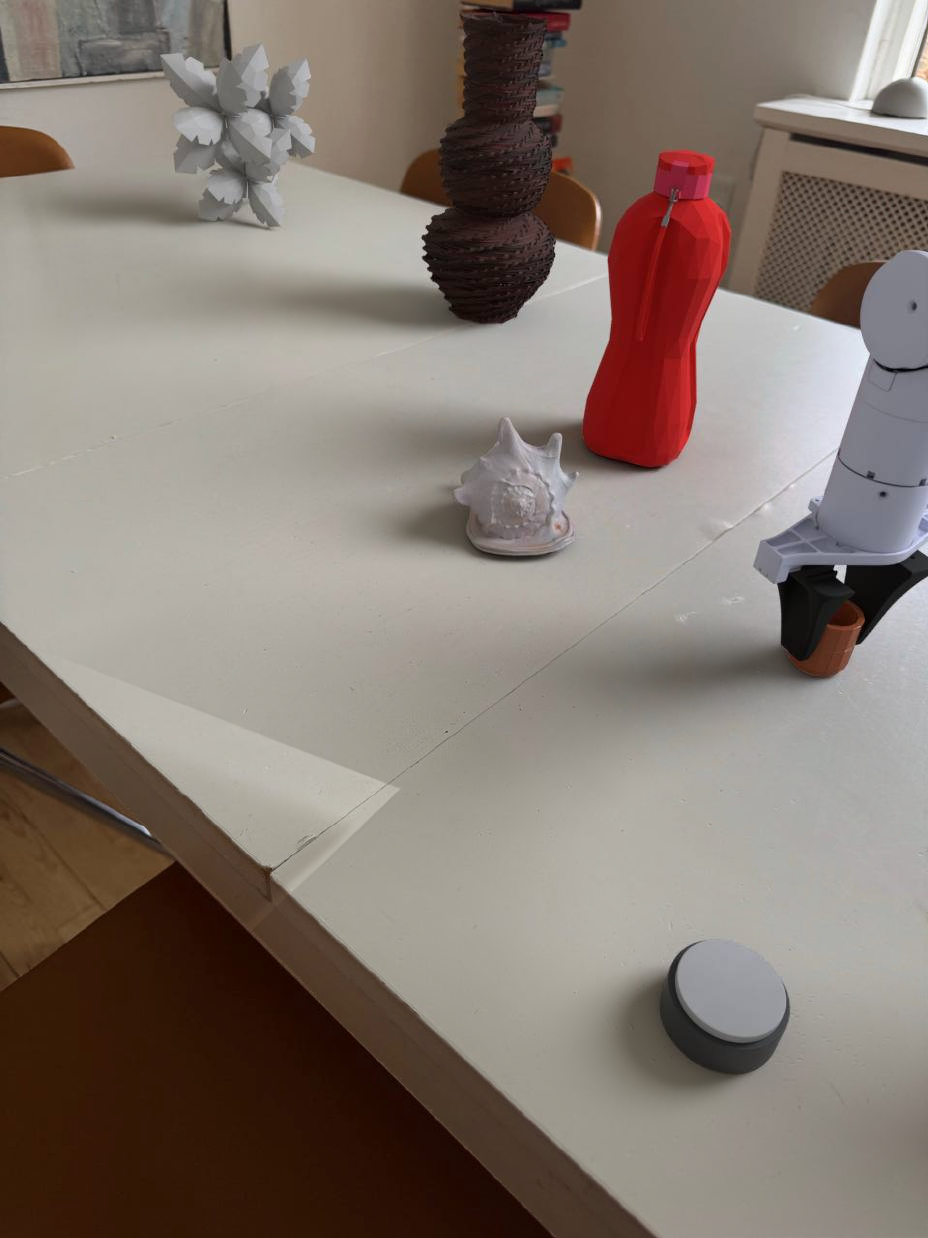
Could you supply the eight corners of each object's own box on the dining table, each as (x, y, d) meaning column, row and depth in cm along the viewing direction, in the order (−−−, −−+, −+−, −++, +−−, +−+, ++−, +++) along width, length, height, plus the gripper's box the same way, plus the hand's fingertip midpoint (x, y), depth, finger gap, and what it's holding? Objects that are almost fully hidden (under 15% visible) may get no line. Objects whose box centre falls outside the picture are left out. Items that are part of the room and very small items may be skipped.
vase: (561, 335, 110) (599, 30, 92) (428, 335, 108) (440, 21, 90) (533, 289, 122) (562, 11, 104) (412, 289, 120) (420, 3, 102)
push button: (795, 1006, 45) (810, 975, 43) (752, 1099, 41) (766, 1069, 40) (689, 944, 47) (700, 913, 46) (639, 1027, 44) (649, 996, 42)
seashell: (461, 567, 72) (469, 454, 66) (428, 487, 81) (433, 382, 75) (590, 556, 74) (608, 446, 68) (543, 479, 83) (556, 377, 78)
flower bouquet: (368, 192, 154) (366, 40, 141) (261, 249, 128) (247, 69, 116) (271, 178, 158) (262, 29, 145) (149, 229, 133) (124, 54, 120)
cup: (852, 657, 66) (872, 608, 64) (834, 687, 63) (853, 637, 61) (796, 634, 68) (813, 585, 65) (776, 662, 65) (792, 613, 63)
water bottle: (563, 462, 86) (605, 158, 71) (601, 415, 94) (646, 133, 79) (664, 488, 83) (730, 178, 68) (694, 438, 91) (759, 151, 76)
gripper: (926, 417, 62) (860, 589, 70) (745, 450, 57) (697, 632, 65) (1016, 468, 57) (934, 646, 65) (828, 509, 52) (764, 698, 60)
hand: (821, 643), depth 65 cm, fingers closed on cup, 4 cm apart
